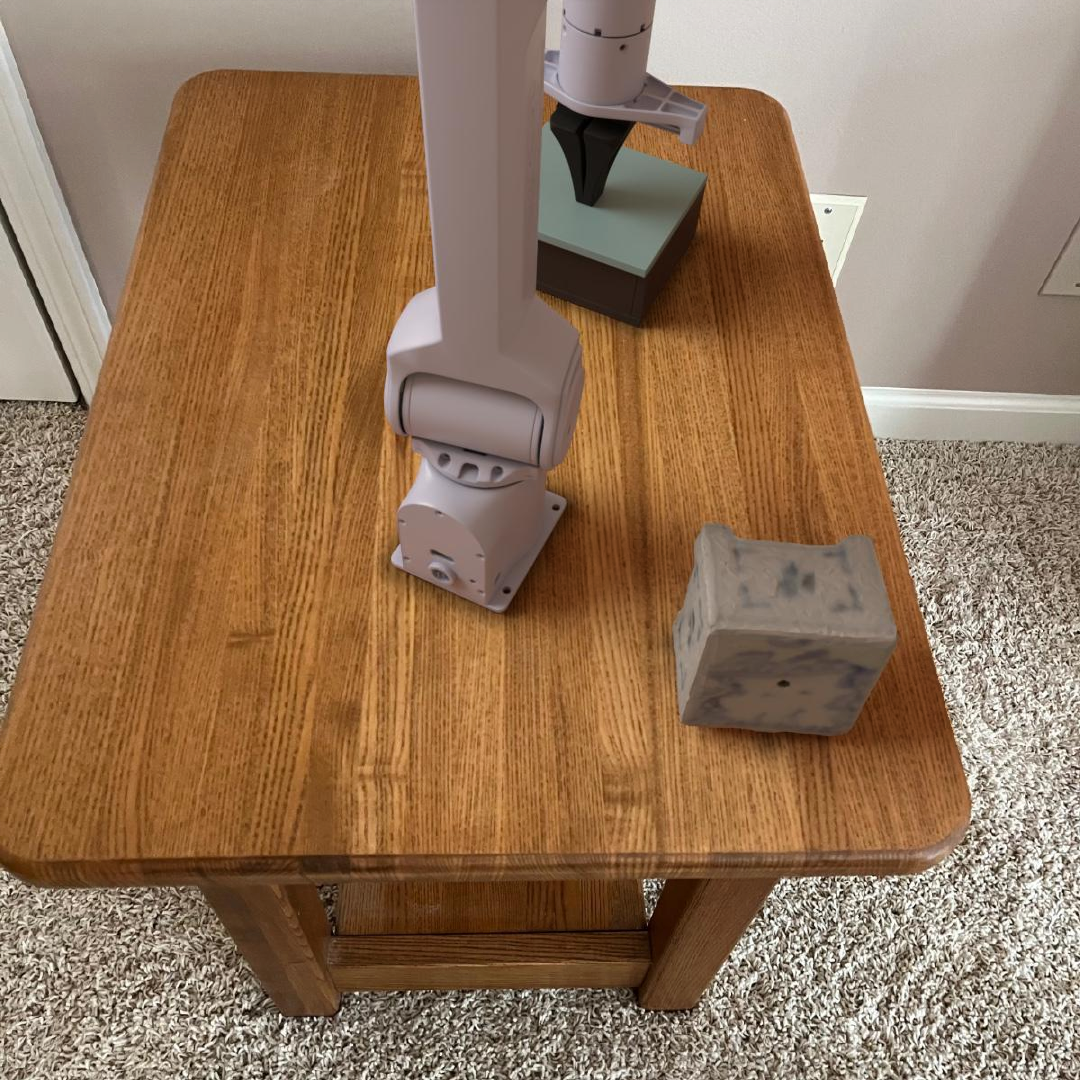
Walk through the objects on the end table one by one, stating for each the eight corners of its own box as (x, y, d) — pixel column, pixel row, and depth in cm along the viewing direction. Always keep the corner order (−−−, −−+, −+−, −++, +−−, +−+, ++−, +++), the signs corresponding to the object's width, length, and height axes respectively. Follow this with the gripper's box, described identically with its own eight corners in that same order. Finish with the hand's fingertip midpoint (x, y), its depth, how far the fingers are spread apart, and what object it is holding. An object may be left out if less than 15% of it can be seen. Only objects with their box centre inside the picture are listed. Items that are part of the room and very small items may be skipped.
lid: (644, 278, 69) (646, 270, 68) (473, 216, 71) (473, 208, 71) (706, 182, 75) (708, 174, 74) (547, 128, 78) (547, 120, 77)
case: (639, 328, 74) (648, 273, 69) (479, 268, 76) (478, 212, 72) (694, 238, 80) (706, 182, 75) (544, 185, 82) (547, 129, 78)
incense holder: (828, 618, 61) (885, 523, 52) (844, 745, 56) (909, 665, 47) (670, 607, 60) (700, 510, 52) (672, 734, 56) (706, 651, 47)
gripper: (739, 15, 61) (700, 197, 73) (532, -46, 65) (525, 138, 76) (699, 71, 58) (664, 253, 69) (481, 4, 61) (482, 189, 72)
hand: (589, 197), depth 72 cm, fingers closed, pressing on lid
